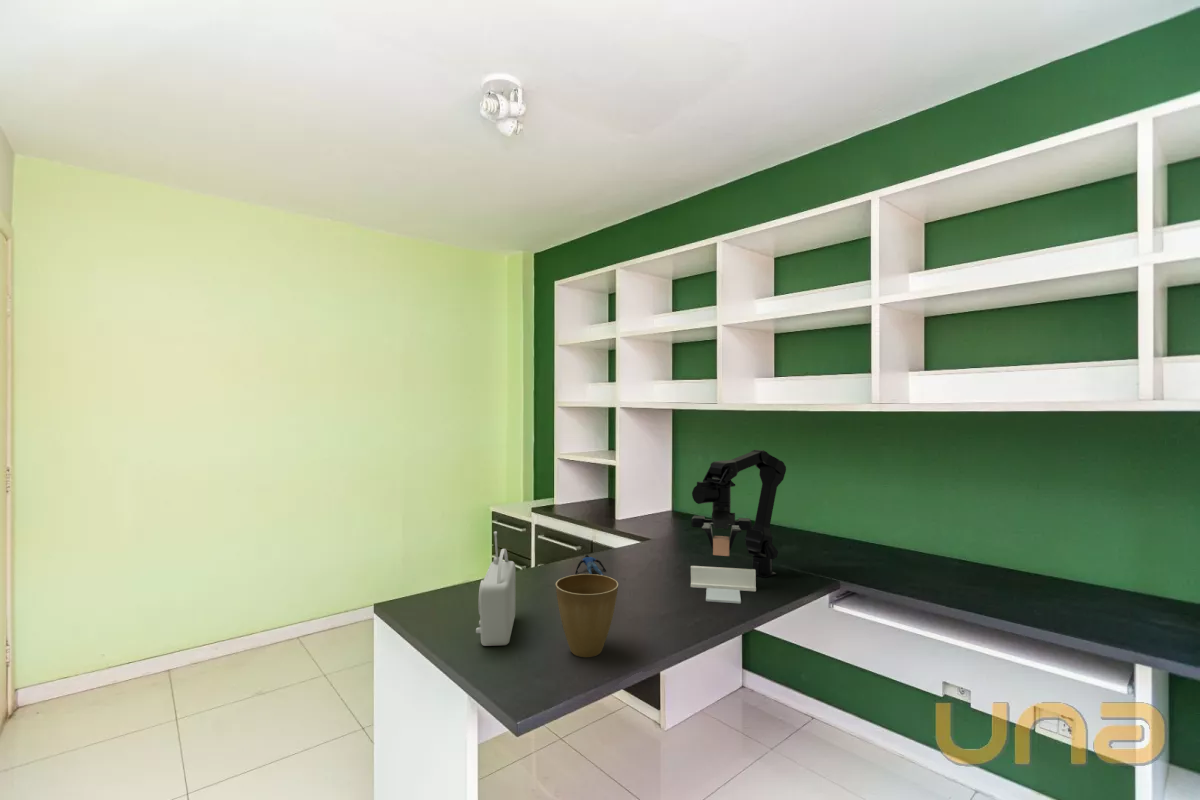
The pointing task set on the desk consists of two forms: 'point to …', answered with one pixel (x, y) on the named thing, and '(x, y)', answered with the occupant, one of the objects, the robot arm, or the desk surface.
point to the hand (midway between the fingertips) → (721, 549)
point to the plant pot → (586, 611)
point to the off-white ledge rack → (723, 578)
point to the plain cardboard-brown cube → (721, 545)
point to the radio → (497, 601)
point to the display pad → (723, 595)
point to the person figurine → (591, 565)
